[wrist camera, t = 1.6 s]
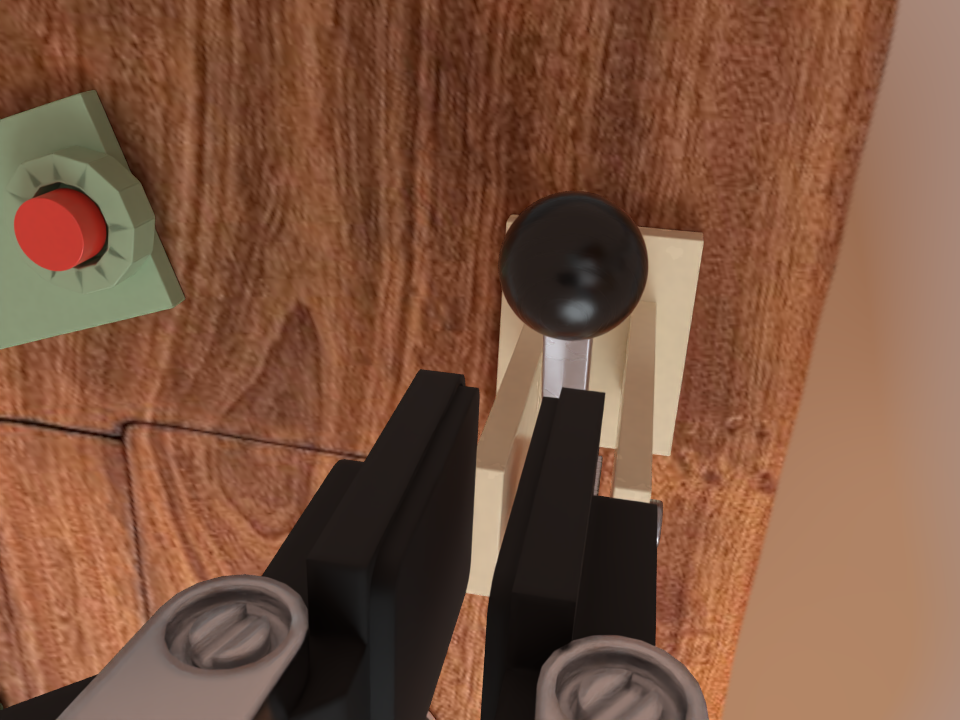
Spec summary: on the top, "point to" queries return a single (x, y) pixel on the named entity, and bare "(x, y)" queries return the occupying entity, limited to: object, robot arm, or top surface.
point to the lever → (572, 280)
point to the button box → (125, 208)
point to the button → (60, 229)
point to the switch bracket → (614, 370)
